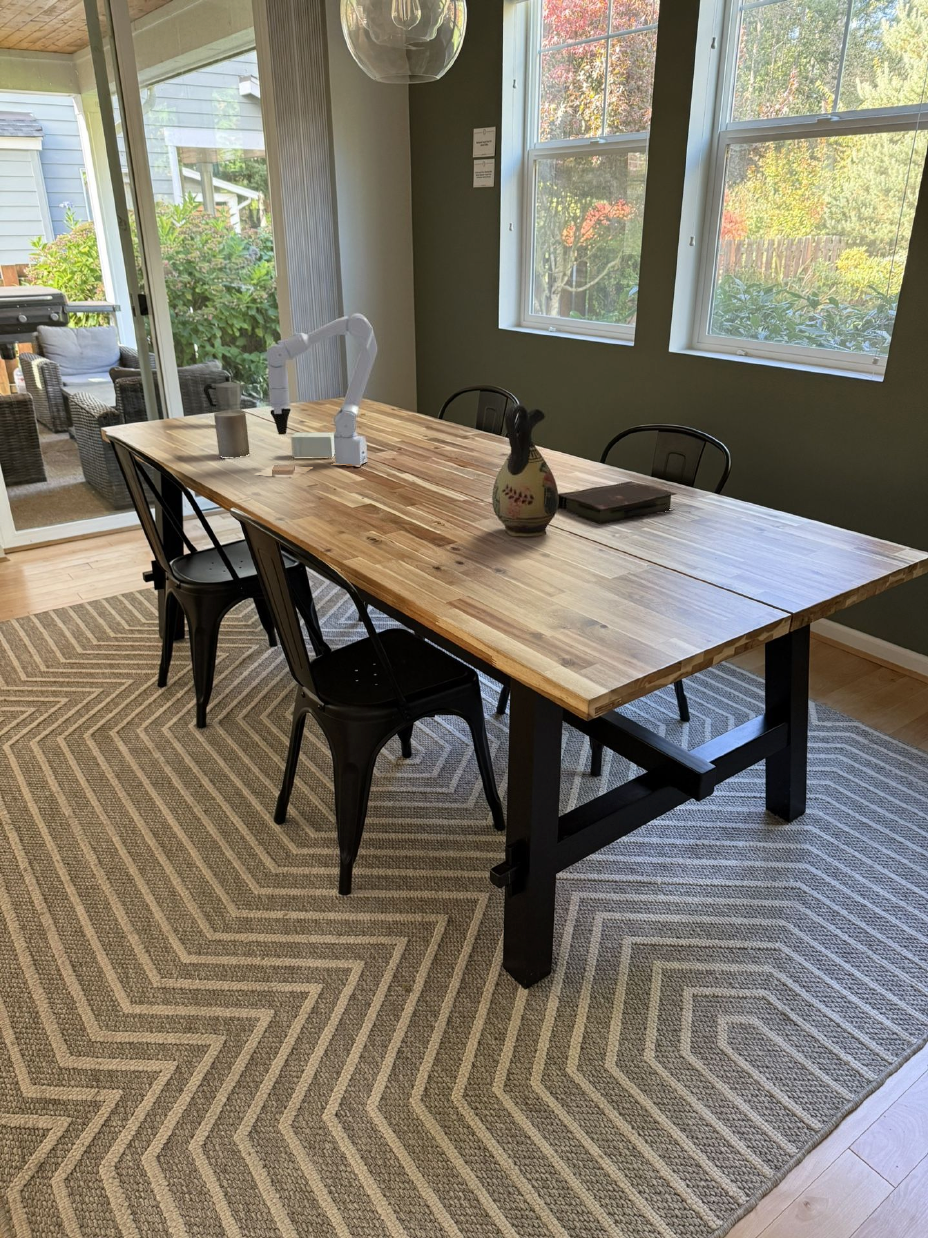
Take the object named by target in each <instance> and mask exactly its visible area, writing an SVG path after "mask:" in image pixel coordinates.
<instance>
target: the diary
mask: <svg viewBox="0 0 928 1238" xmlns="http://www.w3.org/2000/svg"><path fill="white" fill-rule="evenodd" d="M677 494H678V493H677V492H675V491H671V490H667V489H665V488H660V487H658V486H655V485H654V486H653V485H650V484H645V483H640V482H635V481H631V480H630V481H625V482H621V483H616V484H610V485H603V486H595V487H590V488H589V487H588V488H586V489H581V490H576V491H569V492H568V491H567V492H558V496H559V503H558V508H557V510H560V509H561V511H566V512H569V513H572V514H574V515H575V516H576V517H577V518H580V519H581V520H585V521H588V522H590V523H592V524H595V525H608V524H613V523H617V522H618V523H619V522H624V521H627V520H628V521H629V520H632V519H636V518H643V517H649V516H650V515H654V514H655V513H656V514H658V513H657V512H664V513H666V512H665V511H669V512H673V510H674V511H675V509H673V508H671V502H672V496H676V495H677ZM669 509H673V510H669ZM648 514H650V515H648Z"/></svg>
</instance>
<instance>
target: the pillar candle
mask: <svg viewBox="0 0 928 1238" xmlns="http://www.w3.org/2000/svg"><path fill="white" fill-rule="evenodd" d="M246 415H247V414H246V412H245V411H243V410H241V411H239V410H231V411H230V410H229V411H221V412H220V411H217V412H214V413H213V417H214V423H215V424H214V426H215V434H216V441H217V443H216V444H217V448H218V449H217V450H218V457H219V456H222V457H240V456H246V455H248V454H251V453H250V444H249V436H248V425H247V417H246Z"/></svg>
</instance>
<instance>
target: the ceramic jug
mask: <svg viewBox="0 0 928 1238" xmlns="http://www.w3.org/2000/svg"><path fill="white" fill-rule="evenodd" d="M516 416H518V420H517V422H515V420H516ZM545 417H546V416H545V413H544V411H542V410H541V409H539V408H536V407H535V408H534V409H531V410H530V411H529V410H528V408H527V407H525V406H524V405H522V404H519V403H513V404H512V405H509V406H508V407H507V409H506V410H505V416H504V418H505V419H504V424H505V430H506V434H507V438H508V442H509V446H510V453H509V454H508V456H507V458H506V459H505V460H504V463H503V464H502V466H501V467H500V469H499V471H498V473H497V475H496V478H495V480H494V485H493V488H492V493H491V494H492V495H491V496H492V498H491V501H492V502H491V503H492V508H493V511H494V515H495V516H496V517H497V518H498V520H499V521H500V522H501V523H502V525H504V527H505V530H506V533H507V534H508V535H510V537H539V536H542V535H546V534H547V530H546V529H547V528H548V526H549V524H550V523H551V521H552V520H553V519H554V518H555V516H556V514H557V510H558V509H557V508H558V503H559V496H558V494H559V490H558V486H557V481H556V479H555V477H554V474H553V472H552V469H551V468H550V467H549V465H548V464H547V462H546V460H545V458H544V457H543V455H542V454H541V452H540V451H539V450H538V448H537V447H536V444H535V443H534V441H533V439H532V438H533V437H532V431H533V429H534V428H535V427H536V426H537V425H538V424H540V423H541V422H542V421H543V420H544V419H545ZM515 423H516V424H515Z"/></svg>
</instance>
